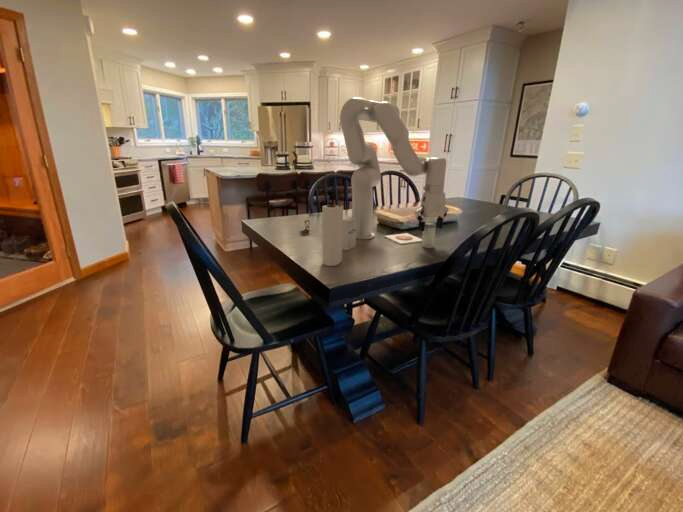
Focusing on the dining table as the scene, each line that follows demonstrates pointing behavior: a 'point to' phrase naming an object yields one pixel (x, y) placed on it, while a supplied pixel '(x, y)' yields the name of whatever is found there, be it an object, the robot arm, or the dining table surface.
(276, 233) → the dining table surface
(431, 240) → the tube
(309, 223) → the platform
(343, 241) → the white bottle
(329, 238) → the paper towel roll
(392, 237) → the card
